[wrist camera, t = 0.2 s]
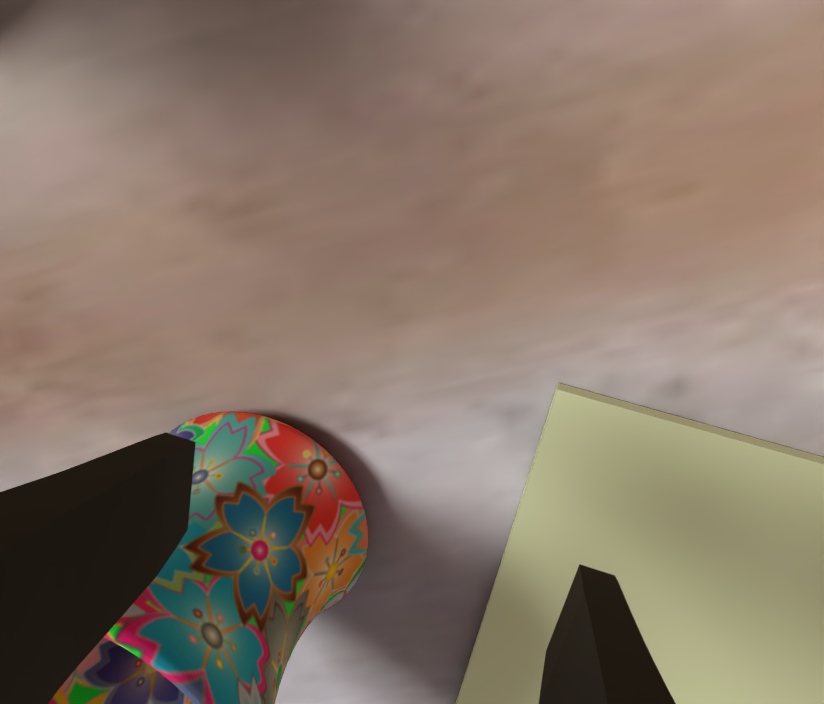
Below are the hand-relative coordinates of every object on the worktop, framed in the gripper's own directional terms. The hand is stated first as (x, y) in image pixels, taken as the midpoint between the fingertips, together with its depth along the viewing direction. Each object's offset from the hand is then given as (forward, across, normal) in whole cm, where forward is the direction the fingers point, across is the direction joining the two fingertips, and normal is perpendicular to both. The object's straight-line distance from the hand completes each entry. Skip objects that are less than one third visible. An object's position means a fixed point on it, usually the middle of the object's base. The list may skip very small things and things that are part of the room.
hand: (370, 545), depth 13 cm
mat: (+10, -10, +8) cm, 16 cm away
